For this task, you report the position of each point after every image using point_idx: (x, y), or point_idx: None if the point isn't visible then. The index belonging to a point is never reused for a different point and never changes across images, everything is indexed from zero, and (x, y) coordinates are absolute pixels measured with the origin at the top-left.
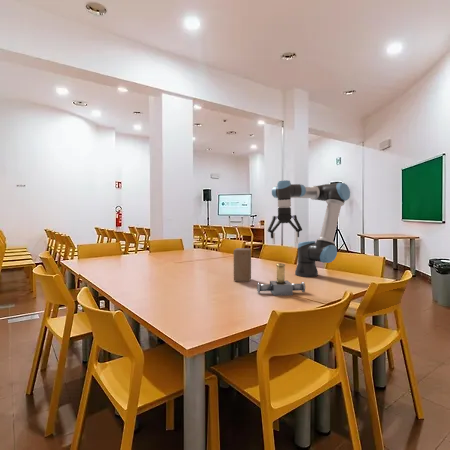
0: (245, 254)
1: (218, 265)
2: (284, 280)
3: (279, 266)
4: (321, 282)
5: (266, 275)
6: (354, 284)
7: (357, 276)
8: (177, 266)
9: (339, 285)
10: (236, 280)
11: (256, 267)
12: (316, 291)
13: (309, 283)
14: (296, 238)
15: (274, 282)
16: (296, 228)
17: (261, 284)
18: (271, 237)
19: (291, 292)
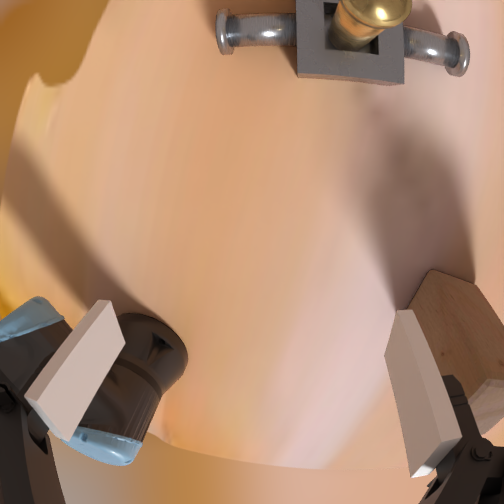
0: (493, 359)
1: (401, 464)
2: (333, 16)
3: None
4: (108, 222)
5: (309, 365)
6: (23, 184)
7: (16, 288)
8: (494, 444)
9: (60, 168)
10: (471, 283)
11: (301, 449)
12: (164, 59)
13: (156, 208)
14: (81, 337)
15: (386, 40)
16: (8, 444)
17: (450, 47)
18: (459, 384)
19: None
